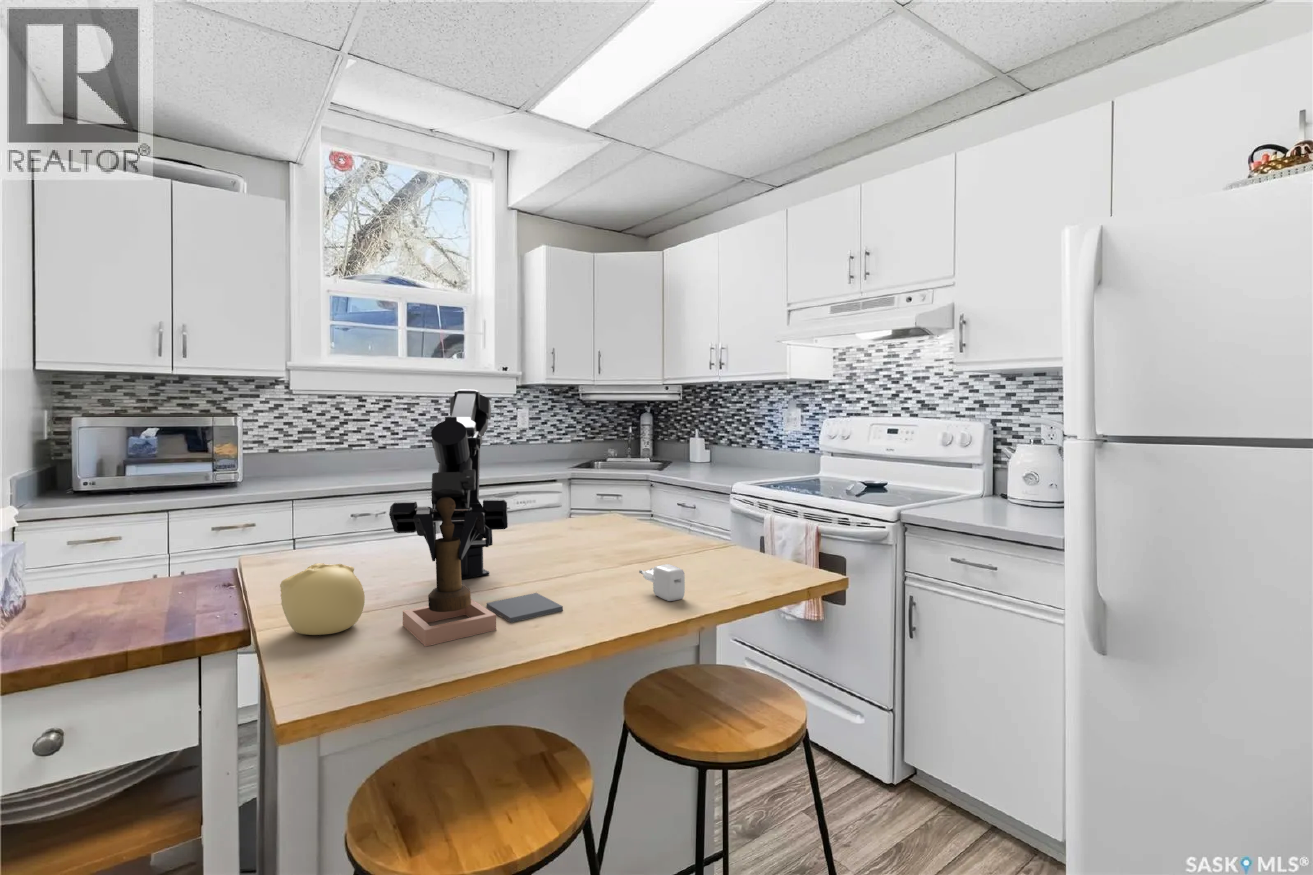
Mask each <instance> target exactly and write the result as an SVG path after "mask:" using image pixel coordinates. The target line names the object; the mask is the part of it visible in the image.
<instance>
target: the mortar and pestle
mask: <svg viewBox="0 0 1313 875" xmlns="http://www.w3.org/2000/svg"><path fill="white" fill-rule="evenodd" d="M455 507H456V505H455V501H454V500H453V499H452V498H450V497H443V498H440V499H439V500H438V501H437V504H436V509H437V512H438V513H439V515H440V516H441V518H442V522H441V524H440V525H439V531H440V534H441V536H442V537H440V538H436V540H435V554H436V558H435V574H436V587H434V588H433V589H432V591H430V592H429V593H428V596H427V598H428V599H427V600H428V602H427V603H428V606H429V609H430V610H431V611H435V612H449V611H450V612H451V611H457V610H461V609H464V608H466V607H468V606H470V605H471V599H472V594H471V593H472V592H471V589H470V588H468V587H467V586H466V585H464V584H462V580H463V579H461V560H459V548H460V538H458V537H452V535H453V531H454V524H453V523H452V521H451V516H452V514H453V512H454V510H455Z"/></svg>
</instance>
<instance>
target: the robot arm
mask: <svg viewBox="0 0 1313 875" xmlns="http://www.w3.org/2000/svg"><path fill="white" fill-rule="evenodd" d="M453 394H454V395H453V396H452V397H451V398H450V400H449V416H445V417H444V421H441V422H438V423H437V424H436V425H435V426H434V427H433V428H432V429H431V432H430V435H431V444H432V448H433V451H434V455H435V459H436V461H437V463H438V471H437V472H434V473H433V472H432V473H431V487H430V488H431V492H430V493H431V504H432V505H434V506H433V508H432V507H431V506H418V503H417V502H418V501H416V500H415V501H394V503H392V504H391V505H390V507H389V511H388V512H389V513H388V515H389V519H390V521H391V525H392V528H393V531H394V533H397V534H410V533H411V534H412V533H413V534H414V533H415V532H416V534H417V536H419V537H424V539H425V541H426V544H427V546H428V550H429V553H430V557H431V560H432V562H436V554H435V540H436V539H437V531H436V528H435V523H437V522H439V523H440V522H441V523H442V518H441V516H440V515H439V513H438V512H437V509H436V504H437V501H438V500H439V499H440V498H443V497H450V498H452V499H453V500H454V501H455V505H456V507H455V510H454V512H453V514H452V516H451V521H452V523H453V524H454V531H453V535H452V537H458V538H460V548H459V560H461V580H465V579H469V578H470V579H471V578H476V577H482V576H486V575H487V576H488V575H490V571H489V570H487V569H484V548H489V547H490V546H493V543H494V542H493V530H494V531H495V530H505V529H507V528H508V525H509V516H508V514H509V513H508V502H507V500H505V499H504V498H500V499H499V498H497V499H496V498H495V499H490V498H489V499H483V500H482V503H481V502H480V497H479V496H480V470H481V469H480V468H481V467H480V465H481V464H480V462H481V459H480V458H481V446H482V445H483V436H484V435H485V433H486V432H487V430H488V426H489V420H491V419H492V418H491V416H492V410H491V409H492V408H491V405H492V404H491V402H490V401H491V400H490V399H489V398H488V397H486V396H485V395H483V394H481V393H480V390H477V389H457V390H454V393H453Z"/></svg>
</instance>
